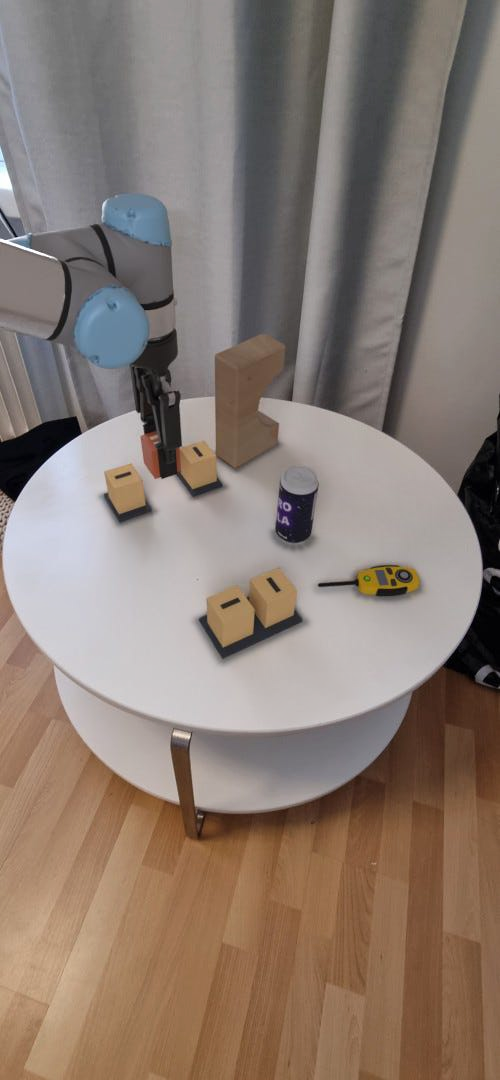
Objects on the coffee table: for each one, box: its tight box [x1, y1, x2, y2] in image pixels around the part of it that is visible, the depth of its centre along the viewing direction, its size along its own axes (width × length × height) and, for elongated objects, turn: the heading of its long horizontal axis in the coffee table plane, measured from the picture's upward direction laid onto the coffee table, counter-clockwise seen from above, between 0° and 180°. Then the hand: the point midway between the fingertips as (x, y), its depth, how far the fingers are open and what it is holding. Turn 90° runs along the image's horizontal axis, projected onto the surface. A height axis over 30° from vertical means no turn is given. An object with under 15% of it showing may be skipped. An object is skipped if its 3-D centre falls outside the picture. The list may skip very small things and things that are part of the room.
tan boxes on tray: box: [198, 567, 303, 660], centre depth 79 cm, size 12×7×6 cm, turn 120°
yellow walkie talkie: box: [317, 564, 421, 597], centre depth 85 cm, size 5×2×15 cm
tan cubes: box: [103, 440, 224, 523], centre depth 96 cm, size 19×7×6 cm, turn 120°
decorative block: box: [214, 332, 286, 469], centre depth 100 cm, size 11×6×20 cm, turn 133°
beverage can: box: [275, 464, 320, 544], centre depth 88 cm, size 6×6×12 cm
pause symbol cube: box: [139, 431, 181, 480], centre depth 93 cm, size 5×5×6 cm
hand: (162, 465), depth 95 cm, fingers closed on pause symbol cube, 5 cm apart
